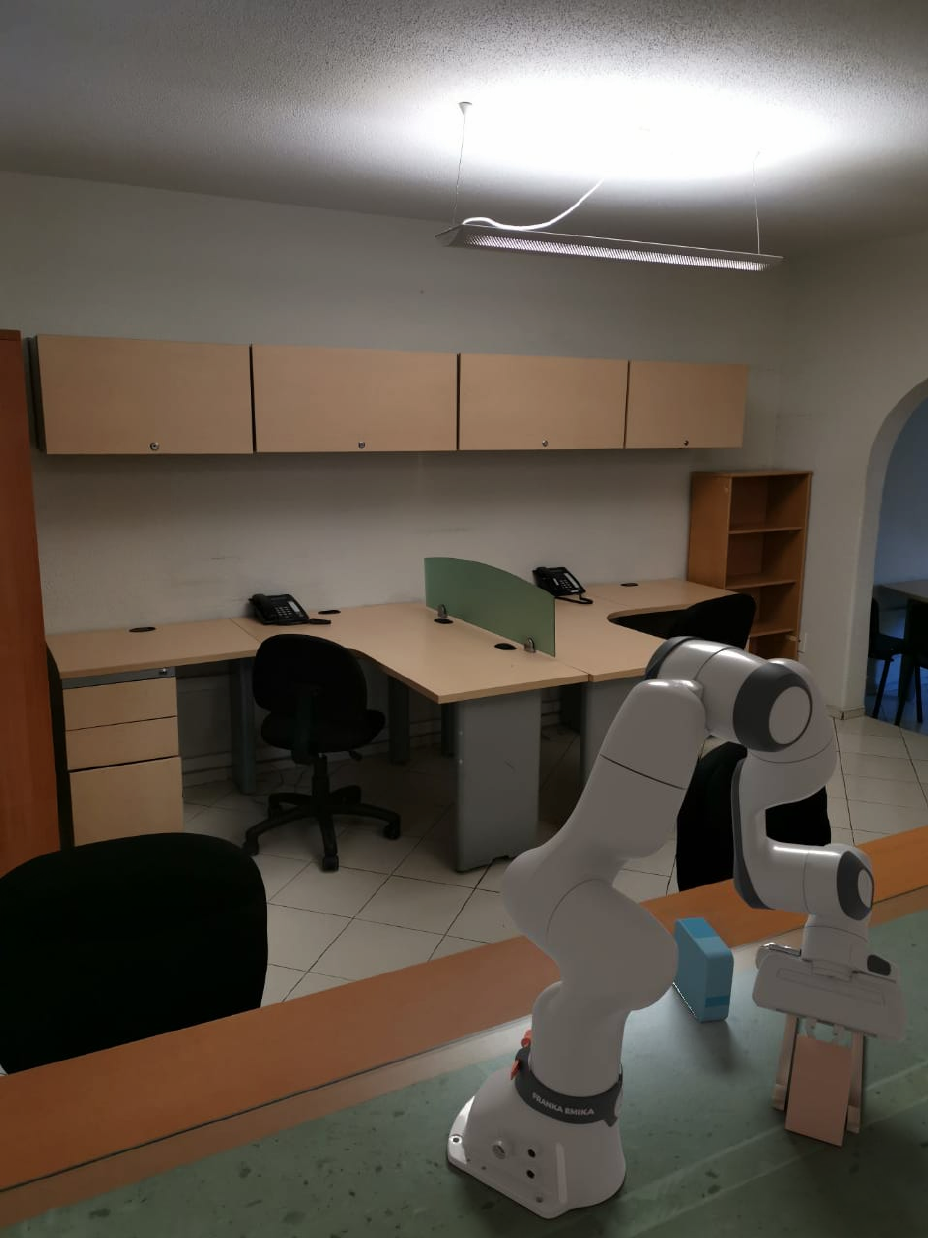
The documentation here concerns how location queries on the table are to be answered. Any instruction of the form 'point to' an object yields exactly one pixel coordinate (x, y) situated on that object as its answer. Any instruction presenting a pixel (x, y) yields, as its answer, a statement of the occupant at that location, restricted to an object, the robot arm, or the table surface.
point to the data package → (703, 969)
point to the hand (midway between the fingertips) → (820, 1057)
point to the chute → (855, 1079)
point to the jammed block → (819, 1089)
